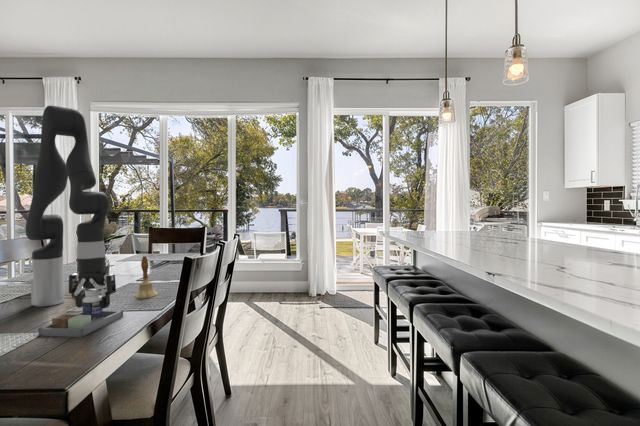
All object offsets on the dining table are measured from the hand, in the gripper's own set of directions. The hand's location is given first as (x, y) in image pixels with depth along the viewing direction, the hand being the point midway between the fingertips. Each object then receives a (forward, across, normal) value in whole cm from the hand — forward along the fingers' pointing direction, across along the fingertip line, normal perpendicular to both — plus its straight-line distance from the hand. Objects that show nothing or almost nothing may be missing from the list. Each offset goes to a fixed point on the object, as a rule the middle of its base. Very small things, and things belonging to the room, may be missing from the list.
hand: (93, 307), depth 116 cm
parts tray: (+5, 0, -4) cm, 6 cm away
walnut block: (+4, -2, -8) cm, 10 cm away
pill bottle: (+4, 0, 0) cm, 5 cm away
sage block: (+4, +2, -8) cm, 10 cm away
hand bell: (+5, -3, +33) cm, 34 cm away
